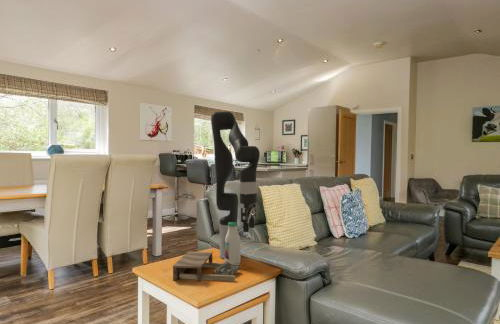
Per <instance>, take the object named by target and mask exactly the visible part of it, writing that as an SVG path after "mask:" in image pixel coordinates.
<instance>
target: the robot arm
mask: <svg viewBox="0 0 500 324" xmlns="http://www.w3.org/2000/svg"><path fill="white" fill-rule="evenodd" d="M210 123H211V125H210V126H211V131H212V138H213V150H214V154H213V155H214V166H215V167H214V168H215V169H214V170H215V181H216V184H215V186H216V188H215V189H216V196H215V197H216V198H215V200H216V202H215V203H216V207H217V209H218V211H227V212H229V213H228V214H227V215H226V216H222V217H220V218H219V258H221V259H224V260H225V237H226V234H227V232H228V223H229V222H237V223H238V217H239V214H238V213H239V203H240V204H243V207H241V208H240V223H242V225H243V226H242V228H243V233H249V230H250V229H254V228H255V226H256V225H255V219H256V217H257V208H256V207H257V205H256V204H257V203H258V187H257V186H258V185H257V184H258V183H257V171H258V165H259V161H260V155H261V153H260V152H261V151H260V150H259V148H258V146H256V145H249V140H248V139H247V138H246V137H245V135H244V134H243V133H242V131H241V129H240V127H239V124H238V122H237V121H236V118H235V115H234V114H233V112H231V111H228V110H227V111H225V110H224V111H214V112H212V113H211V117H210ZM228 130H230V132H229V134H228V141H229V143H230V145H231V146H232V148H233V150H234V156H235V157H233V153H232V152H231V150H230V149H229V148H228V146H227V145H226V144H225V142H224V140H223V138H222V134H221V131H228ZM234 158H235V159H236V161H238V163H249V164H248V166H246V167H242V168H241V169H239V170H240V171H239V196H238V194H237V193H234V192H225V188H226V183H227V181H228V179H229V177H230V175H231V174H232V172H233V169H234Z"/></svg>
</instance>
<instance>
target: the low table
mask: <svg viewBox="0 0 500 324" xmlns="http://www.w3.org/2000/svg"><path fill="white" fill-rule="evenodd" d="M224 263H225V262H224ZM224 263H223V262H213V252H212V251H211V252H210V251H187V252H186V253H185V254H183V256H182V257H181V258H180V259H178V260H177V261H176V262H175V263H174V264H173V265H172V280H173V281H176V282H177V281H178V278H179V279H180V280H197V281H196V282H199V283H200V282H202V281H223V282H236V275H215V274H209V273H208V274H206V273H202V272H203V271H202V268H207V269H208V268H209V269H217V268H219V267H220V266H221V265H223V264H224ZM234 265H235V266H239V267H237V268H238V270H241V263H240V264H232V266H234ZM186 269H196V271H197V272H196V273H185V271H186Z"/></svg>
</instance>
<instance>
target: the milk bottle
mask: <svg viewBox="0 0 500 324" xmlns="http://www.w3.org/2000/svg"><path fill="white" fill-rule="evenodd" d="M241 253H242V251H241V237H240V234H239V231H238V221H237V222H229V223H228V232H227V234H226V237H225V259H224V263H225V262H227V261H228V262H229V263H231V264H241V261H242V260H241Z"/></svg>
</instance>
